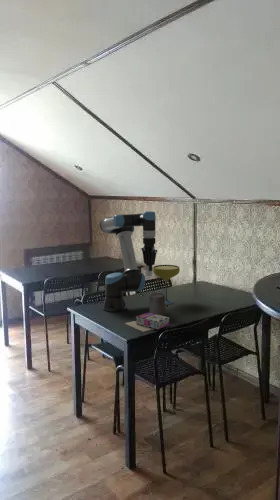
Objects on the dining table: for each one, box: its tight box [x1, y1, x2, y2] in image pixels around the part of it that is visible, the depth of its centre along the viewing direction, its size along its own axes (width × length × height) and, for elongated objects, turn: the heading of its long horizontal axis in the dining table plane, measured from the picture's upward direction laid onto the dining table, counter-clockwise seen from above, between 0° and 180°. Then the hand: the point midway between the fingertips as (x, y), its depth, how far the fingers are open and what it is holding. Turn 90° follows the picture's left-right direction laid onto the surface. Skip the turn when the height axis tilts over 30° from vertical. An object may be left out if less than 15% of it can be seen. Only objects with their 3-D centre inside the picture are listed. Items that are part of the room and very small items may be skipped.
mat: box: [124, 320, 155, 333], centre depth 260 cm, size 18×18×1 cm
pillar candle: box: [148, 292, 166, 317], centre depth 277 cm, size 10×10×15 cm
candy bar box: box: [135, 312, 170, 330], centre depth 259 cm, size 11×5×16 cm
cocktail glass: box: [152, 264, 180, 306], centre depth 307 cm, size 18×18×25 cm
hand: (149, 275), depth 270 cm, fingers closed
